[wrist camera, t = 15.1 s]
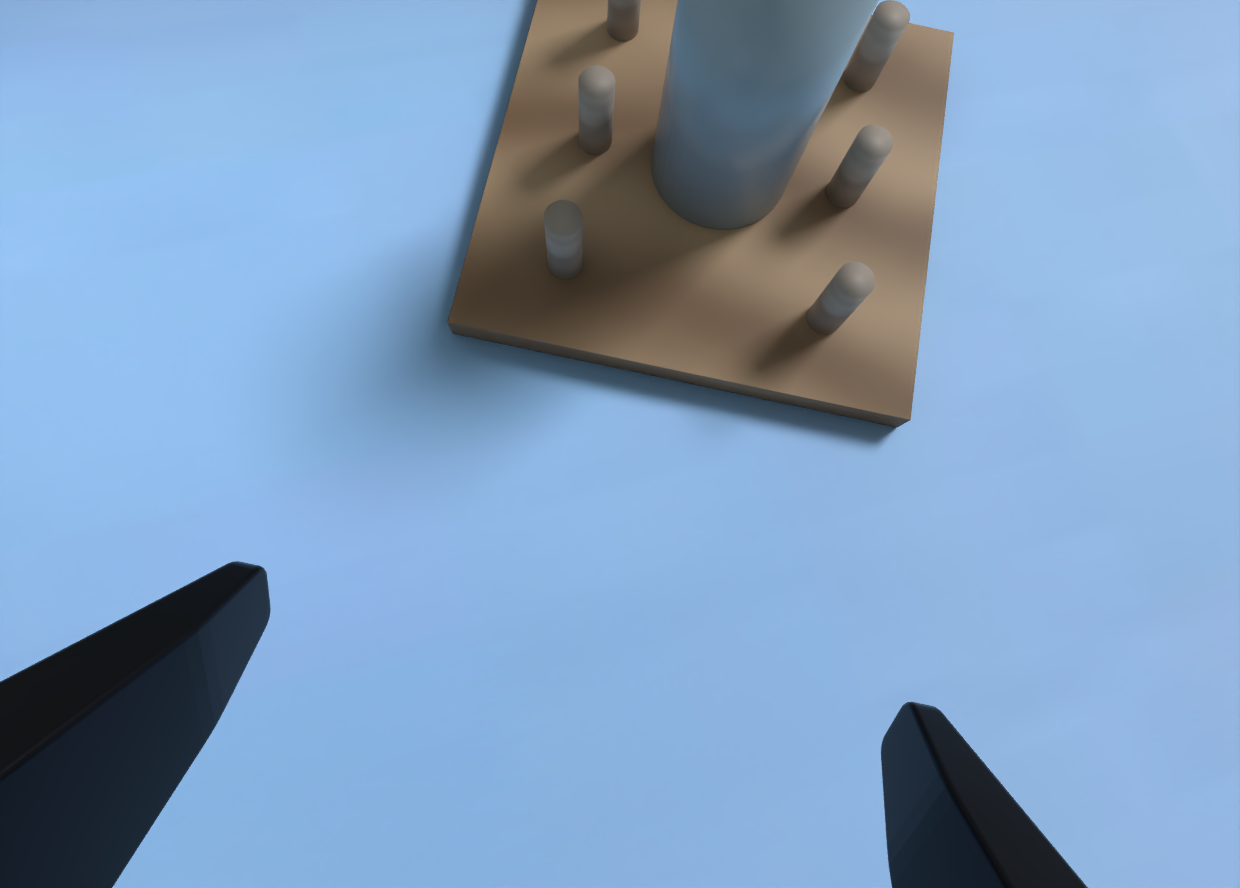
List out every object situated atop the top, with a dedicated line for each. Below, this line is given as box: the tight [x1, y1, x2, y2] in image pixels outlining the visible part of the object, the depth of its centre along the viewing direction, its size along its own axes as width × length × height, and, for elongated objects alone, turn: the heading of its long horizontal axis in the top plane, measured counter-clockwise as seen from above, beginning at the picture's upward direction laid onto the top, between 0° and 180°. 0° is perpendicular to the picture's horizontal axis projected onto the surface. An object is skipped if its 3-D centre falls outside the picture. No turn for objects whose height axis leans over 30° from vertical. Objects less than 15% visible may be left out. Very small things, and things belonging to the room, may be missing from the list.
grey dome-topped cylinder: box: [651, 0, 879, 230], centre depth 21 cm, size 5×5×10 cm
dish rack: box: [448, 0, 954, 427], centre depth 25 cm, size 16×16×4 cm
